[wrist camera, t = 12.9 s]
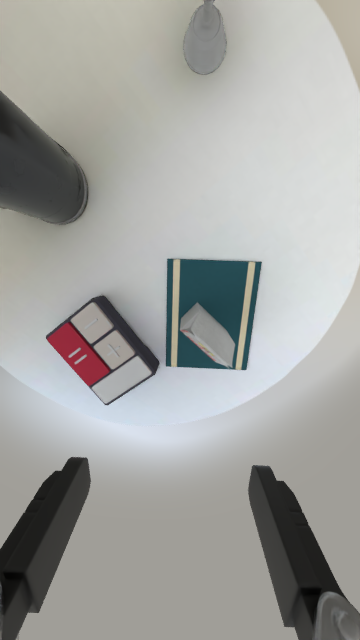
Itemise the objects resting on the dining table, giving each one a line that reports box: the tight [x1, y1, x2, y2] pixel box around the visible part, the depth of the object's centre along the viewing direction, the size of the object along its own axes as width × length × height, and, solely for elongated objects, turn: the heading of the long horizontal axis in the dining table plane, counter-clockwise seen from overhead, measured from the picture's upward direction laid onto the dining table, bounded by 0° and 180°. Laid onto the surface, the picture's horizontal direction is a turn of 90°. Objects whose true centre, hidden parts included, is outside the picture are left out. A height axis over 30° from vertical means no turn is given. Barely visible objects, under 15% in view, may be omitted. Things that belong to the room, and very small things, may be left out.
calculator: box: [46, 296, 159, 405], centre depth 32 cm, size 11×4×15 cm
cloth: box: [166, 259, 262, 370], centre depth 31 cm, size 14×18×1 cm
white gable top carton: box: [180, 302, 235, 369], centre depth 27 cm, size 4×7×10 cm, turn 47°
